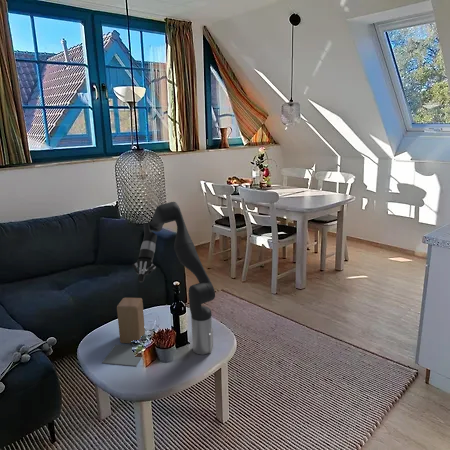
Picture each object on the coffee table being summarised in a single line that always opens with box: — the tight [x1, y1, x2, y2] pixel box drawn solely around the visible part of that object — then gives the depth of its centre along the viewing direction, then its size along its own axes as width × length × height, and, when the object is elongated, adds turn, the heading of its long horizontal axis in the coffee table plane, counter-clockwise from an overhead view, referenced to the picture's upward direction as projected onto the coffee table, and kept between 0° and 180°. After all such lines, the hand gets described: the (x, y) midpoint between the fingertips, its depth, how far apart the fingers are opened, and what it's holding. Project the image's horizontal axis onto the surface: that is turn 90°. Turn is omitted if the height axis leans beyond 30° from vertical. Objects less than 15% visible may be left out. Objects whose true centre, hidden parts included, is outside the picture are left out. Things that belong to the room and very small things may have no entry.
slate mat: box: [101, 344, 142, 367], centre depth 183 cm, size 16×14×1 cm
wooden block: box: [116, 297, 146, 344], centre depth 193 cm, size 10×10×20 cm
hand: (140, 281), depth 204 cm, fingers closed
